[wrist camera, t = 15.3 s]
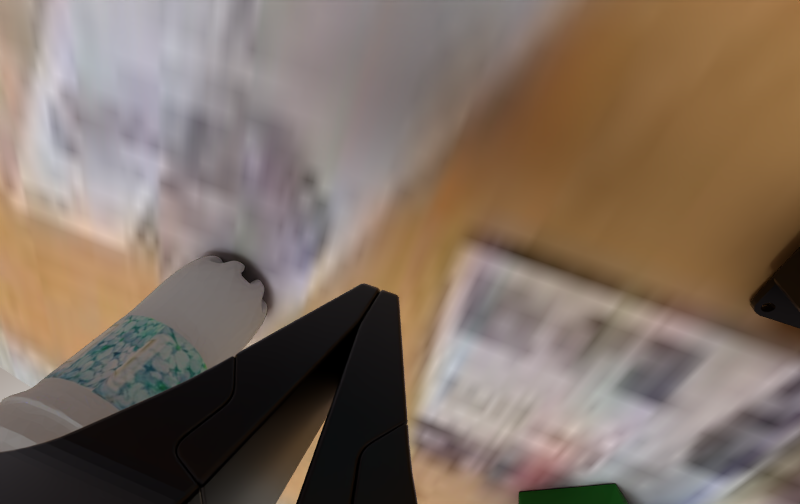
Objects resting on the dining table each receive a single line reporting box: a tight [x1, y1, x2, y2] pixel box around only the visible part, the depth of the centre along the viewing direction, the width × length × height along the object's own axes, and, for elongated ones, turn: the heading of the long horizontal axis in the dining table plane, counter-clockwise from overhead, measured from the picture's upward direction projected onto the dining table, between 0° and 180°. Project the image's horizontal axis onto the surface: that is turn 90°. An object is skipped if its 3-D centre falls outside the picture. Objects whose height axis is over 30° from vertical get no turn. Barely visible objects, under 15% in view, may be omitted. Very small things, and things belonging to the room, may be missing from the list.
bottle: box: [0, 256, 267, 452], centre depth 20 cm, size 7×7×20 cm
